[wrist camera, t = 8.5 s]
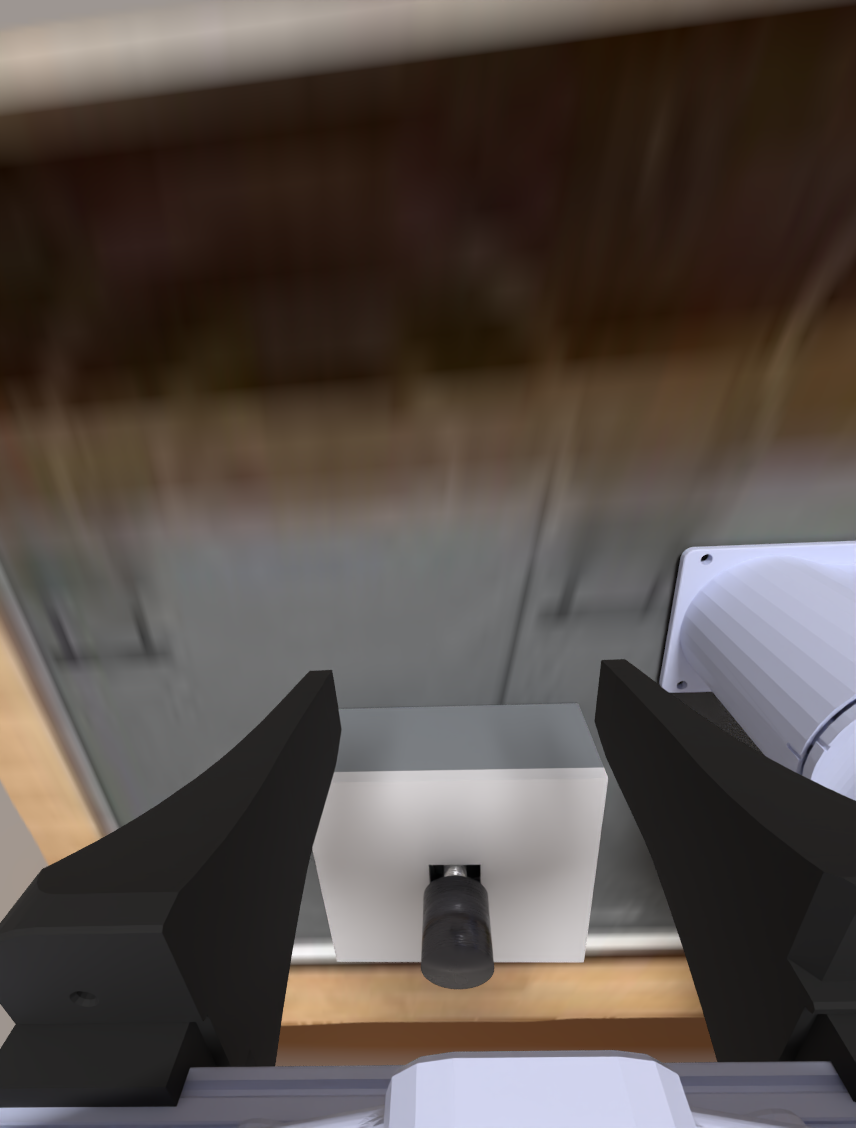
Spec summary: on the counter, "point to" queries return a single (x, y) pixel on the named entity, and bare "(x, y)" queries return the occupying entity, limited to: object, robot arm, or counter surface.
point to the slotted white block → (462, 826)
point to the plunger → (456, 928)
